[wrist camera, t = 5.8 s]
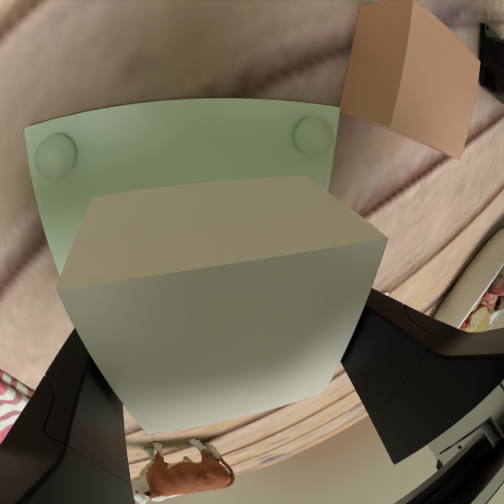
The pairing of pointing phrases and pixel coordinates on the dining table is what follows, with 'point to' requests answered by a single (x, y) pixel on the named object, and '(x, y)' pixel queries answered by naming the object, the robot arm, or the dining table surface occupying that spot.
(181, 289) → the cream brick
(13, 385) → the dish towel
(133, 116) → the plate
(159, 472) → the bull figurine
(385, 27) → the terracotta brick
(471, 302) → the bowl
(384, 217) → the dining table surface
